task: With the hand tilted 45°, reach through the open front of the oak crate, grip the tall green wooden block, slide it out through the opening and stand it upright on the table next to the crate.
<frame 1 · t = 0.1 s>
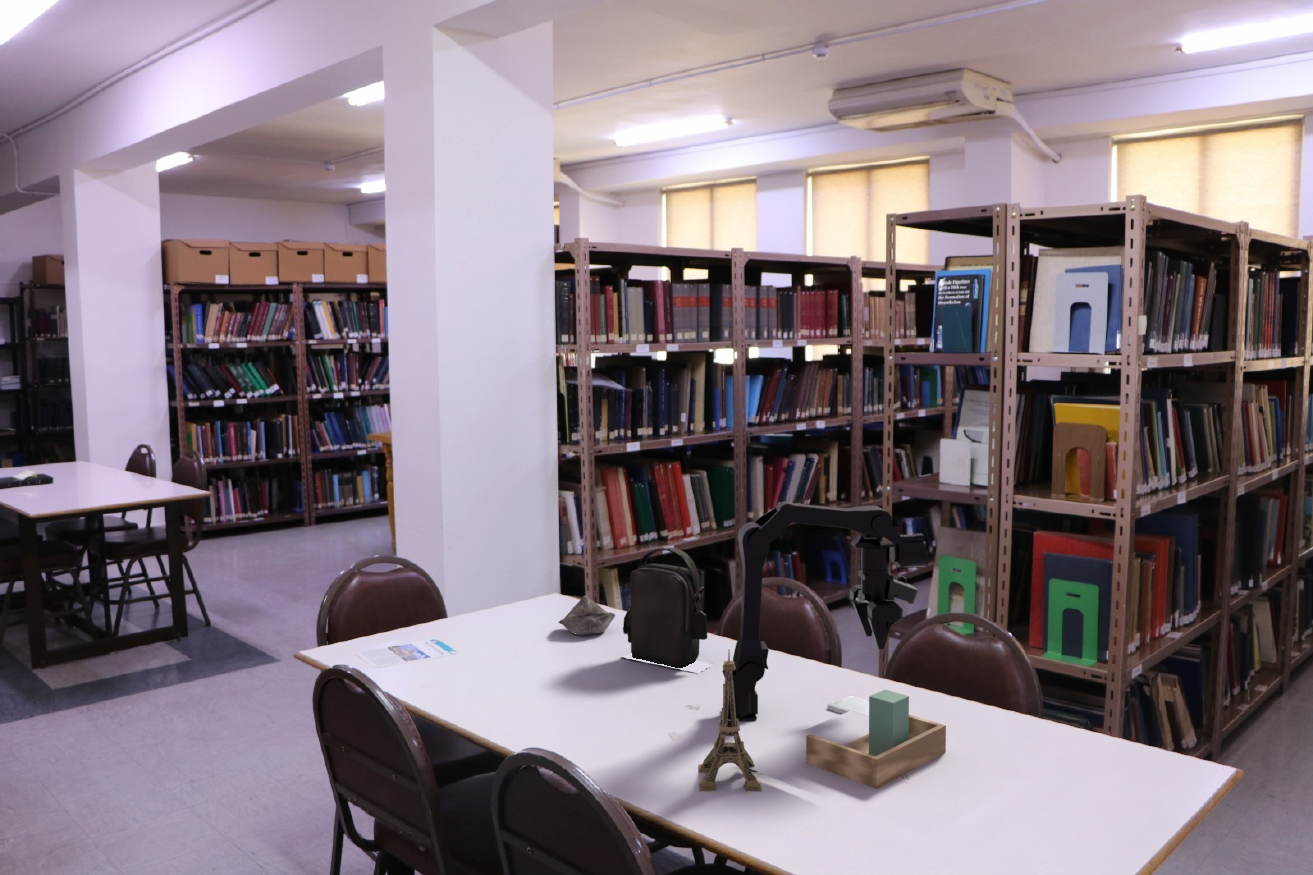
hand: (874, 642, 206), 15 cm above the table, tool pointing down, fingers open, 9 cm apart
shoulder bag: (667, 662, 243), on the table
oak crate: (876, 762, 181), on the table
white flat slab: (863, 715, 207), on the table
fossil: (586, 632, 269), on the table
green block: (888, 761, 179), point 1 cm above the table, touching oak crate
eiffel tower: (729, 779, 175), on the table
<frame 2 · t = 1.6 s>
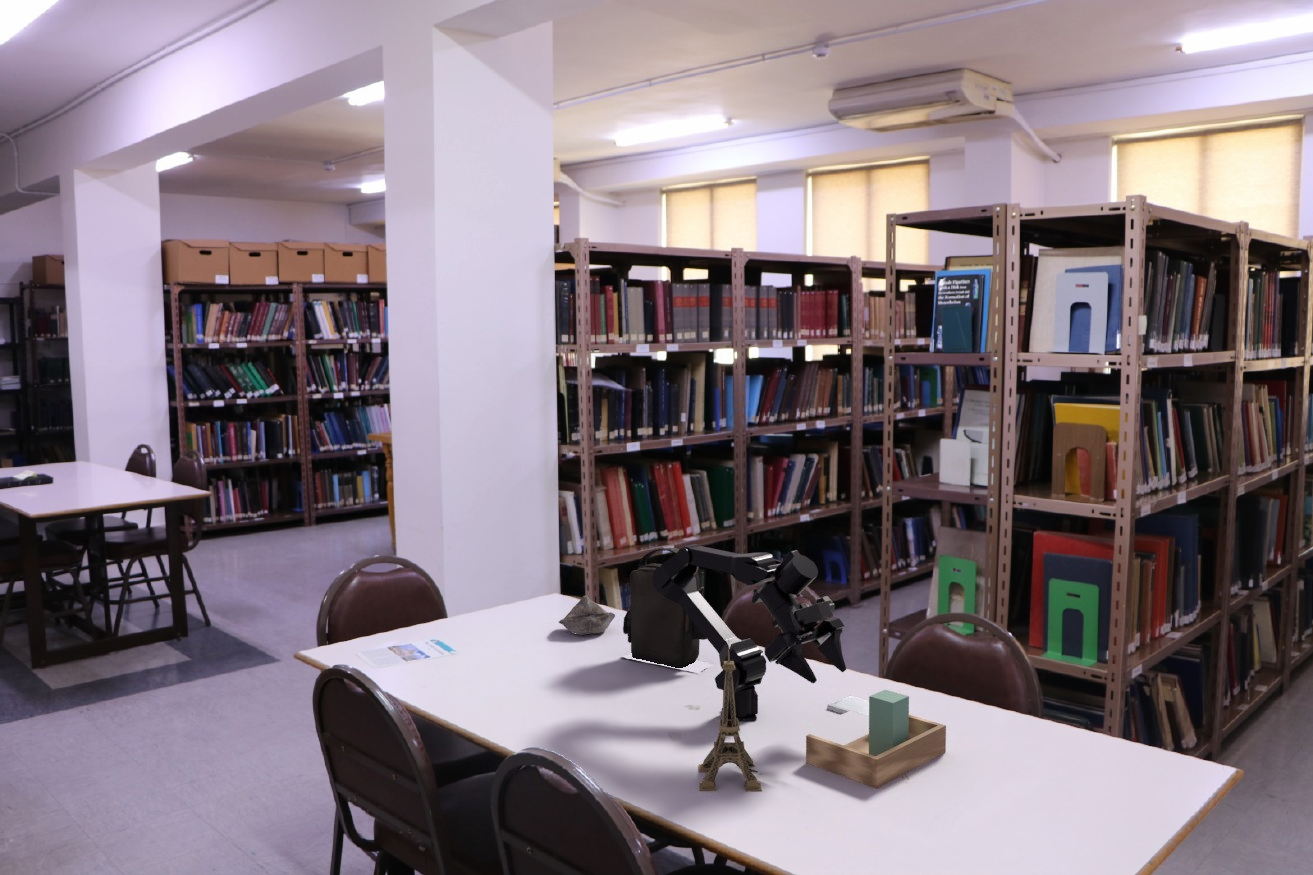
hand: (830, 676, 188), 14 cm above the table, tool tilted 45°, fingers open, 9 cm apart
nothing on the table moved.
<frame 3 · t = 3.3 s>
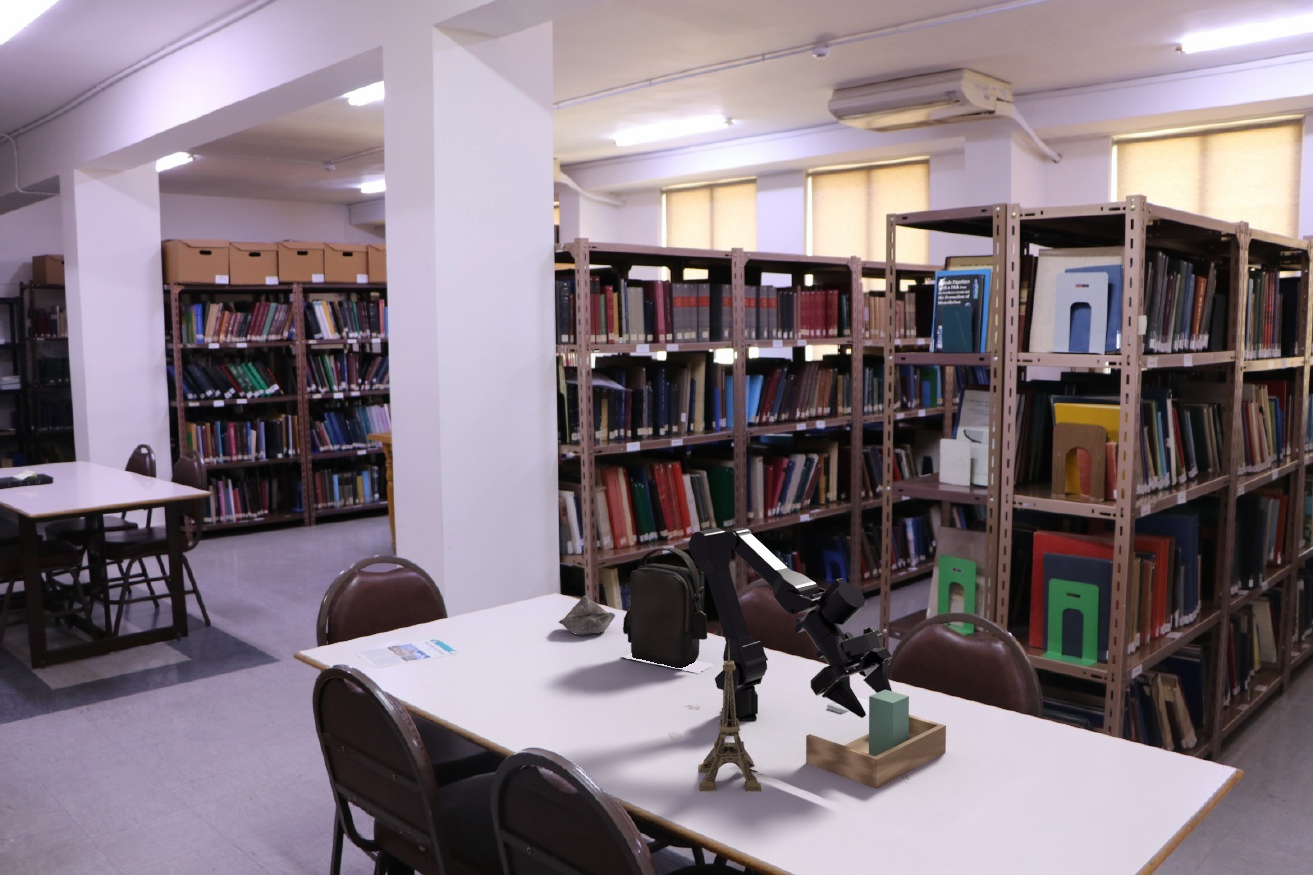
hand: (879, 710, 180), 10 cm above the table, tool tilted 45°, fingers open, 9 cm apart
nothing on the table moved.
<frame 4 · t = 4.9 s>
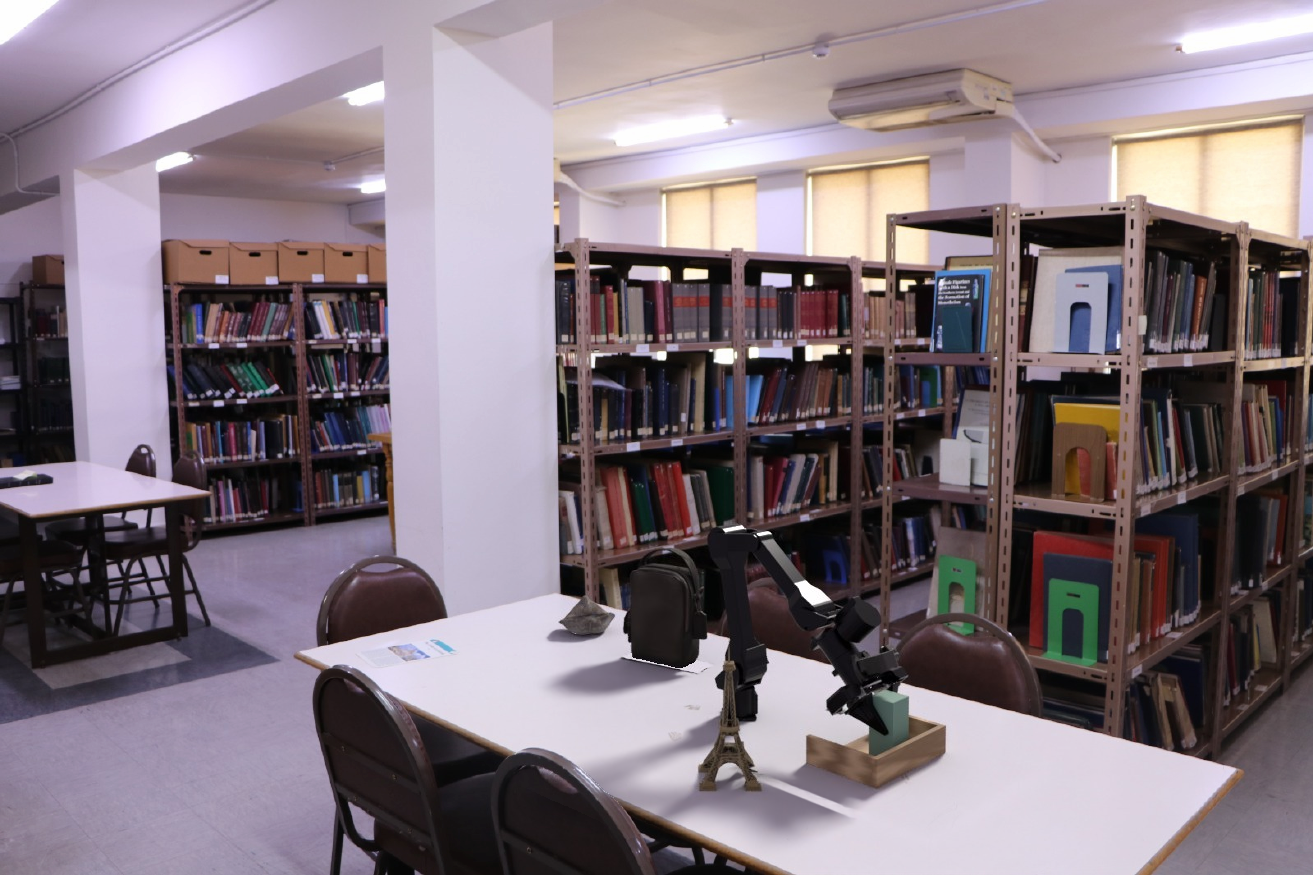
hand: (895, 730, 178), 7 cm above the table, tool tilted 45°, fingers closed on green block, 5 cm apart
green block: (888, 761, 179), point 1 cm above the table, touching gripper, oak crate
everything else where it was.
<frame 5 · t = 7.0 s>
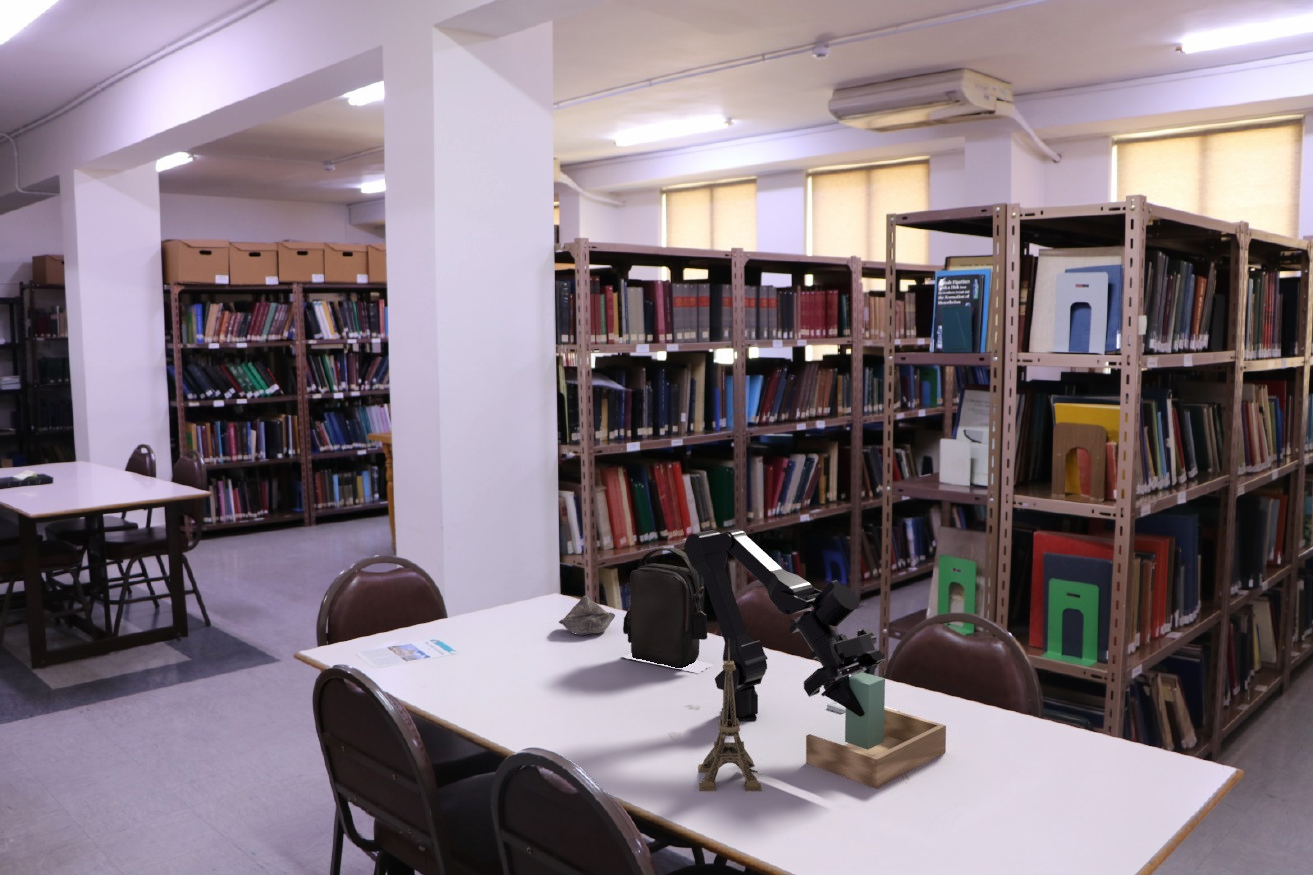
hand: (871, 711, 181), 9 cm above the table, tool tilted 45°, fingers closed on green block, 5 cm apart
green block: (864, 742, 183), point 3 cm above the table, touching gripper
everything else where it was.
when the fingers open (7 cm above the table, at t = 9.4 s): green block drops 1 cm, on the table.
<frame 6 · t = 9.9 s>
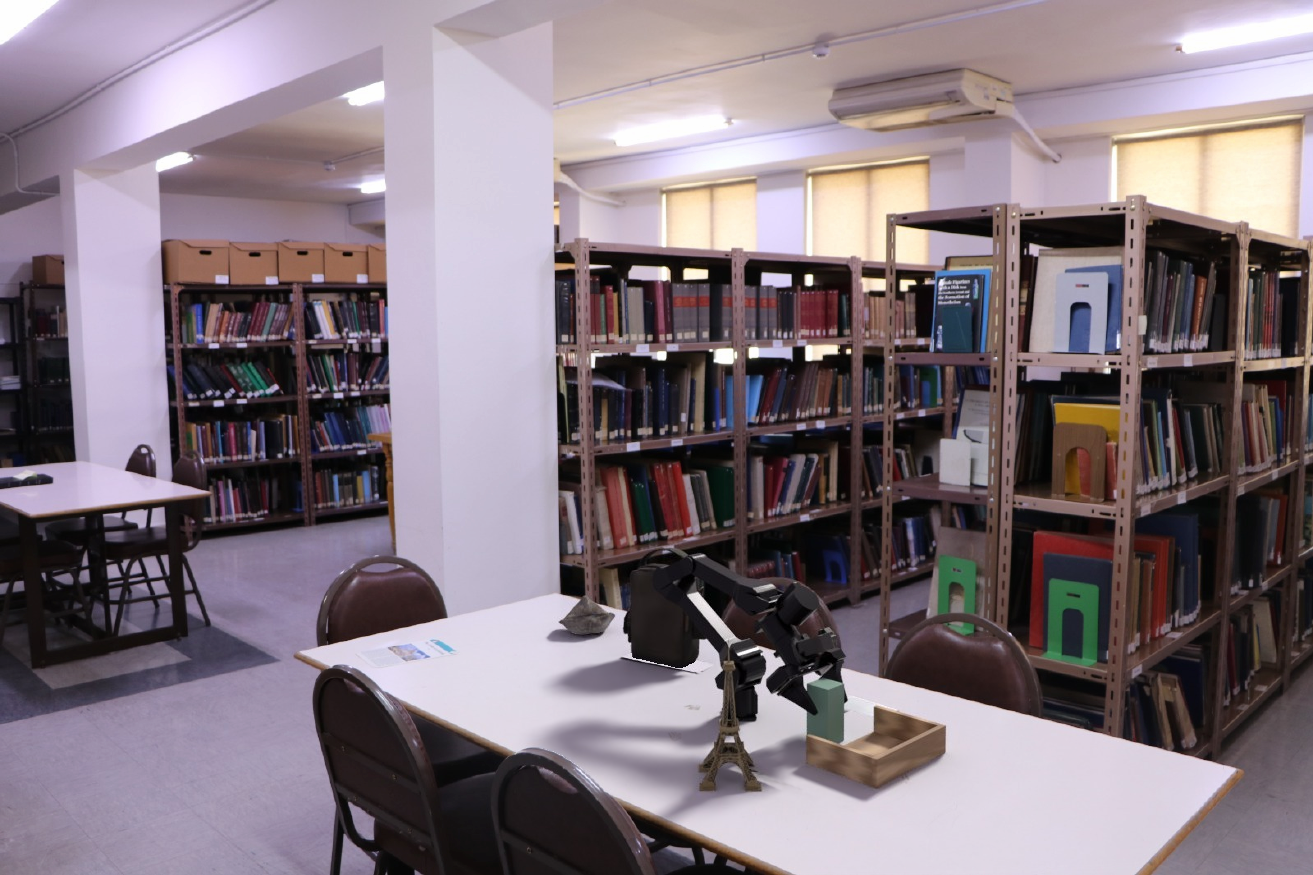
hand: (831, 708, 188), 8 cm above the table, tool tilted 45°, fingers open, 9 cm apart
green block: (825, 745, 190), on the table
everything else where it was.
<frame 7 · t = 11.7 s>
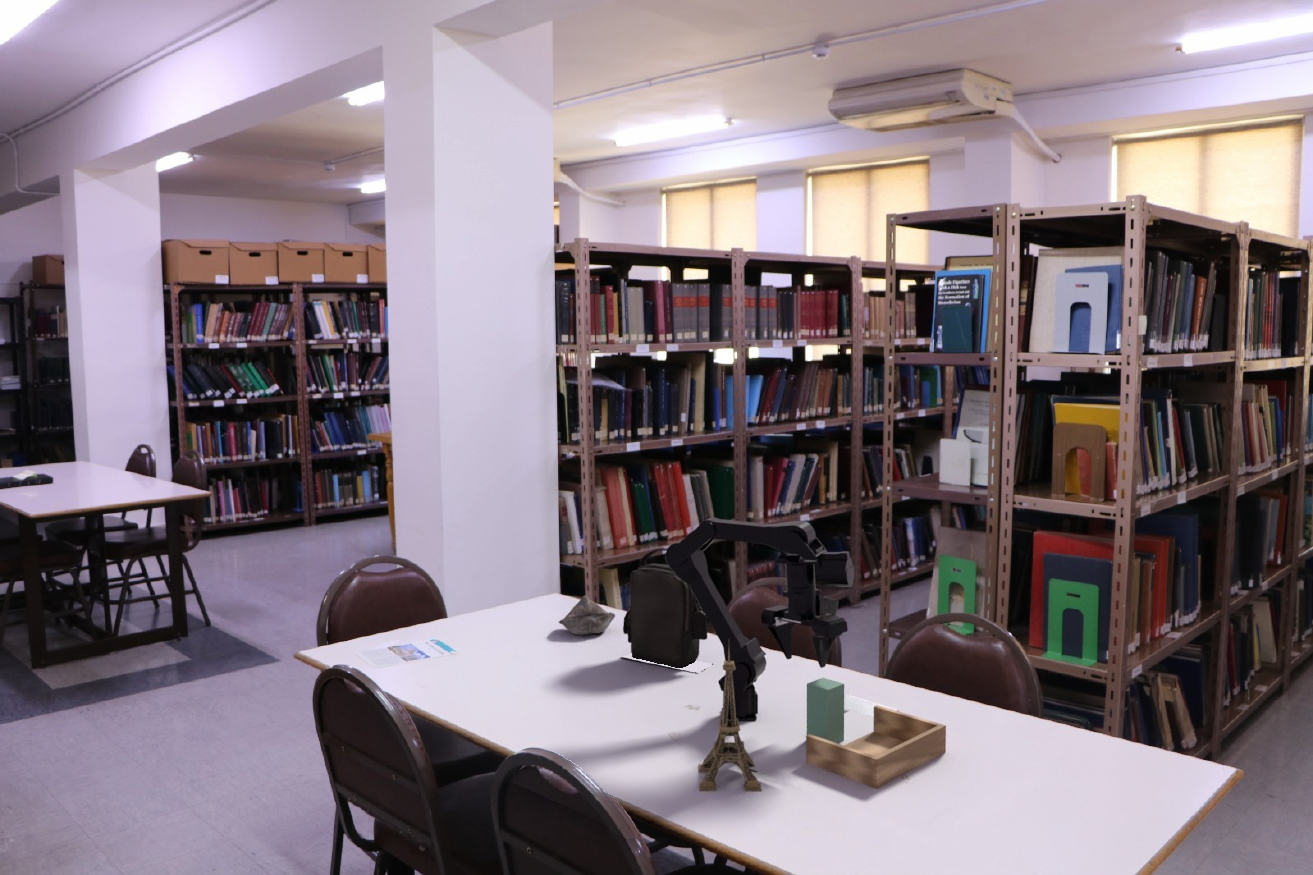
hand: (805, 663, 199), 13 cm above the table, tool pointing down, fingers open, 9 cm apart
nothing on the table moved.
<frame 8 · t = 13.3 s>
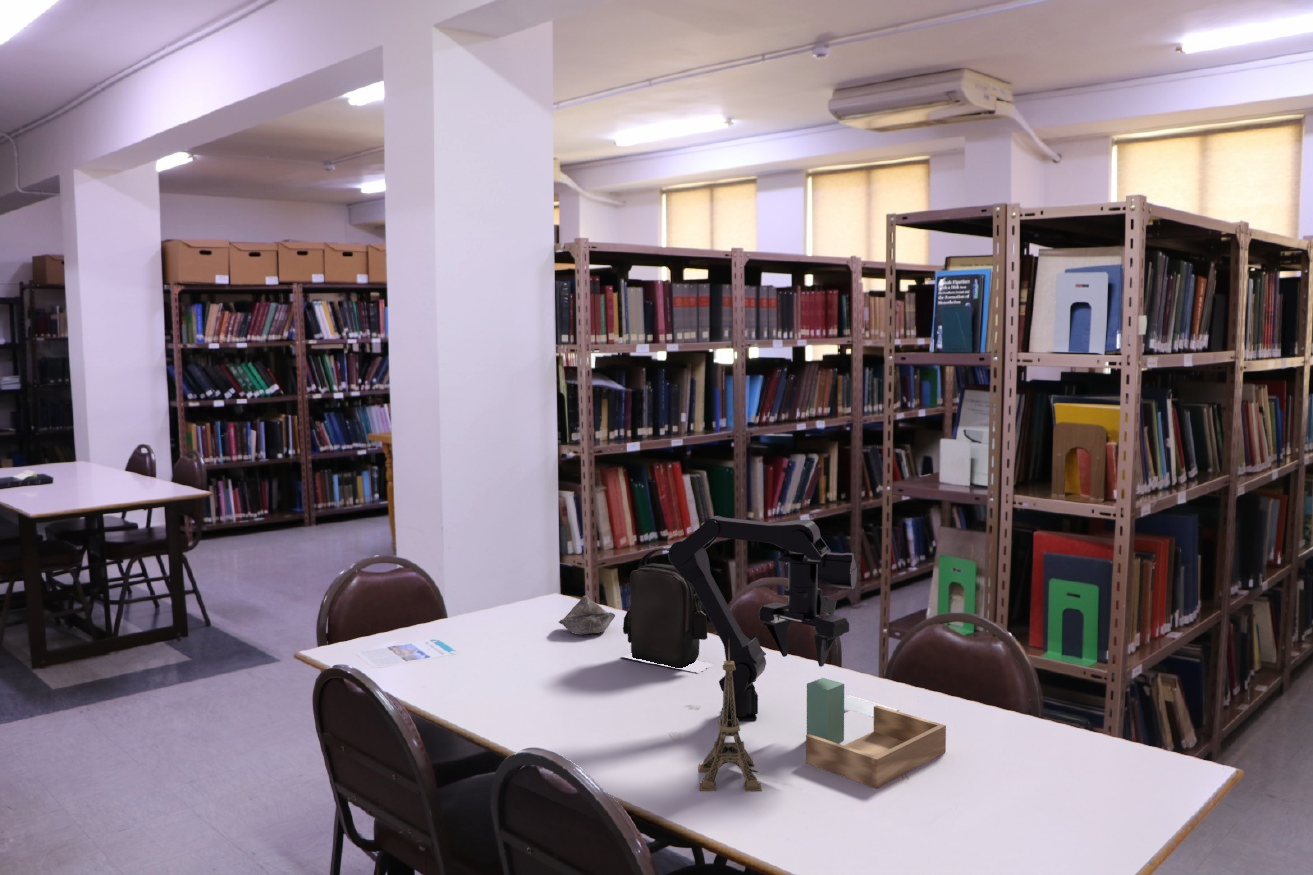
hand: (802, 661, 199), 13 cm above the table, tool pointing down, fingers open, 9 cm apart
nothing on the table moved.
at the end: green block inside the target area (0.4 cm from its centre), on the table; green block tilted 0°; the gripper is holding nothing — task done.
